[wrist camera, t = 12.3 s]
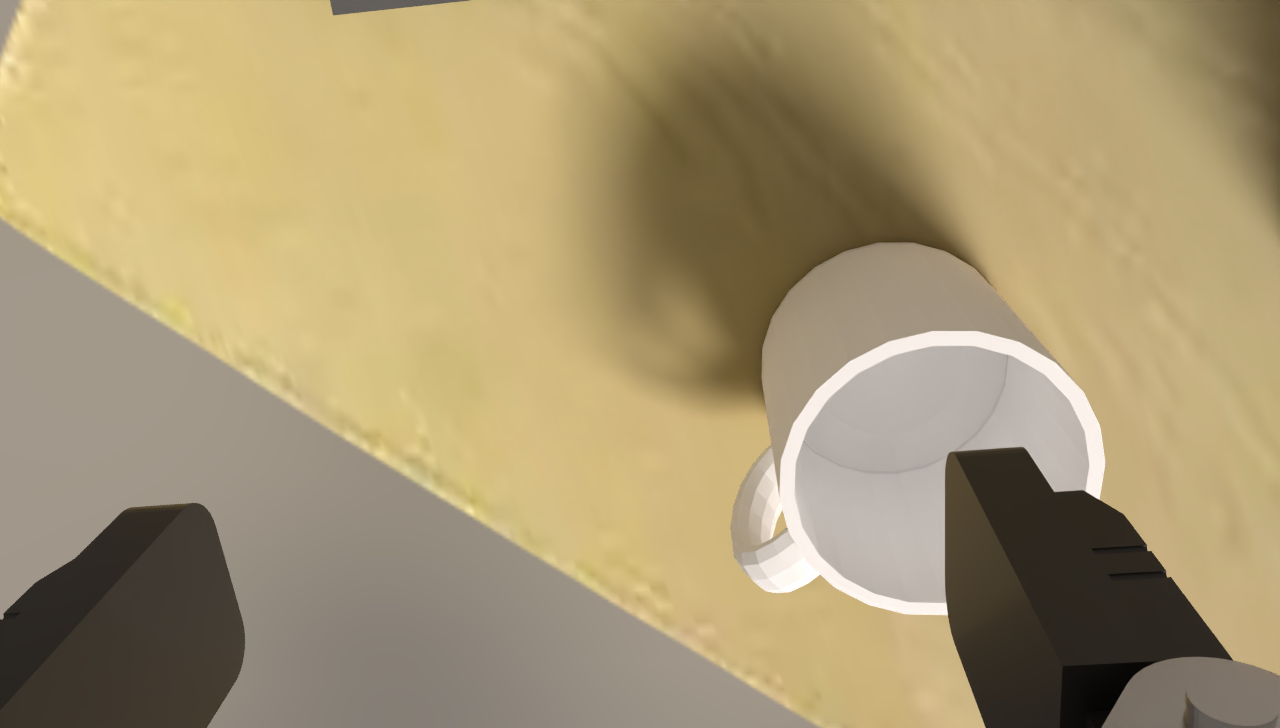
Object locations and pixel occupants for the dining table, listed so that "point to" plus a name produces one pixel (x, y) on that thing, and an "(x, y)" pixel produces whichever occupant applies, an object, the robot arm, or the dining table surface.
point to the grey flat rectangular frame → (378, 5)
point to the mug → (895, 422)
